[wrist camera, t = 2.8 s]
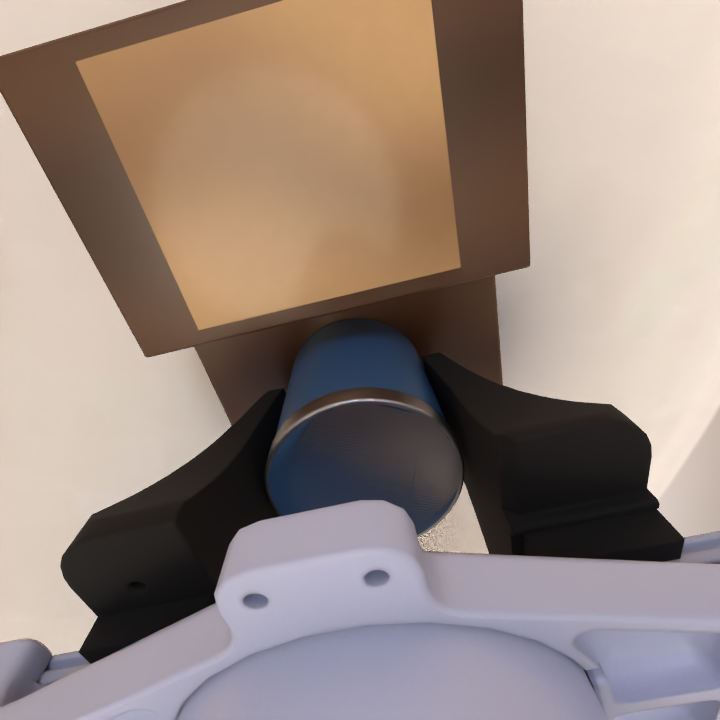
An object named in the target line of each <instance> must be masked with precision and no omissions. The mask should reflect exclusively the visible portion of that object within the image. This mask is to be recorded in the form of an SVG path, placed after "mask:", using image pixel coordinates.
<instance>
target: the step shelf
mask: <svg viewBox="0 0 720 720" xmlns="http://www.w3.org/2000/svg"><path fill="white" fill-rule="evenodd" d="M0 92H1V94H2V95H3V97H4V99H5V101H6V103H7V105H8V106H9V108H10V110H11V112H12V114H13V116H14V117H15V119H16V121H17V123H18V125H19V127H20V128H21V130H22V132H23V134H24V136H25V137H26V139H27V141H28V143H29V145H30V147H31V148H32V150H33V152H34V154H35V156H36V158H37V159H38V161H39V163H40V165H41V167H42V169H43V170H44V172H45V174H46V176H47V178H48V179H49V181H50V183H51V185H52V187H53V189H54V190H55V192H56V194H57V196H58V198H59V200H60V201H61V203H62V205H63V207H64V209H65V211H66V212H67V214H68V216H69V218H70V220H71V222H72V223H73V225H74V227H75V229H76V231H77V232H78V234H79V236H80V238H81V240H82V242H83V243H84V245H85V247H86V249H87V251H88V253H89V254H90V256H91V258H92V260H93V262H94V264H95V265H96V267H97V269H98V271H99V273H100V274H101V276H102V278H103V280H104V282H105V284H106V285H107V287H108V289H109V291H110V293H111V295H112V296H113V298H114V300H115V302H116V304H117V306H118V307H119V309H120V311H121V313H122V315H123V316H124V318H125V320H126V322H127V324H128V326H129V327H130V329H131V331H132V333H133V335H134V337H135V338H136V340H137V342H138V344H139V346H140V348H141V349H142V351H143V353H144V355H145V356H146V357H152V356H156V355H160V354H165V353H169V352H173V351H177V350H181V349H186V348H190V347H195V349H196V351H197V353H198V355H199V357H200V359H201V362H202V364H203V366H204V368H205V370H206V372H207V374H208V376H209V378H210V381H211V383H212V385H213V387H214V389H215V391H216V393H217V395H218V397H219V399H220V402H221V404H222V406H223V408H224V410H225V412H226V414H227V416H228V418H229V420H230V423H231V425H232V426H233V425H234V424H235V423H236V422H237V421H238V420H239V419H240V418H241V417H242V416H243V415H244V414H245V413H246V412H247V411H248V410H249V409H250V408H251V407H252V406H253V405H254V404H255V402H256V401H257V400H258V399H259V398H261V397H262V396H263V395H264V394H265V393H266V392H267V391H271V390H275V389H279V388H284V389H285V392H287V388H288V385H289V381H290V377H291V373H292V369H293V365H294V362H295V359H296V356H297V354H298V352H299V350H300V349H301V347H302V346H303V345H304V343H305V342H306V341H307V340H308V339H309V338H310V337H311V336H312V335H313V334H315V333H316V332H317V331H319V330H320V329H322V328H324V327H326V326H328V325H330V324H332V323H335V322H339V321H342V320H348V319H370V320H375V321H379V322H382V323H385V324H387V325H389V326H391V327H393V328H395V329H396V330H398V331H399V332H401V333H402V334H403V335H404V336H405V337H407V338H408V340H409V341H410V342H411V343H412V344H413V346H414V348H415V349H416V351H417V353H418V355H419V358H420V360H421V362H422V365H423V367H424V363H423V357H422V356H425V355H429V354H434V353H438V352H440V353H442V354H443V355H445V356H446V357H448V358H450V359H451V360H453V361H454V362H456V363H458V364H459V365H461V366H463V367H464V368H466V369H468V370H470V371H472V372H474V373H476V374H477V375H480V376H482V377H484V378H486V379H488V380H490V381H493V382H495V383H498V384H500V385H503V383H502V369H501V355H500V341H499V327H498V313H497V299H496V285H495V275H497V274H501V273H505V272H510V271H514V270H518V269H522V268H527V267H529V266H530V241H529V206H528V171H527V137H526V102H525V67H524V33H523V0H186V1H182V2H179V3H176V4H172V5H169V6H166V7H162V8H159V9H156V10H152V11H149V12H146V13H142V14H139V15H136V16H132V17H129V18H126V19H122V20H119V21H116V22H112V23H109V24H106V25H102V26H99V27H96V28H92V29H89V30H86V31H82V32H79V33H76V34H72V35H69V36H66V37H62V38H59V39H56V40H52V41H49V42H46V43H42V44H39V45H36V46H32V47H29V48H26V49H22V50H19V51H16V52H12V53H9V54H6V55H2V56H0Z"/></svg>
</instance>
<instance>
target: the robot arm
mask: <svg viewBox="0 0 720 720" xmlns="http://www.w3.org/2000/svg"><path fill="white" fill-rule="evenodd" d="M422 357H423V363H424V369H425V372H426V374H427V377H428V379H429V381H430V384H431V386H432V388H433V391H434V393H435V395H436V398H437V400H438V403H439V405H440V407H441V410H442V412H443V414H444V417H445V419H446V421H447V423H448V425H449V426H450V428H451V429H452V431H453V433H454V435H455V438H456V440H457V442H458V445H459V447H460V449H461V452H462V456H463V460H464V483H465V485H466V488H467V490H468V493H469V496H470V499H471V502H472V505H473V507H474V510H475V513H476V516H477V519H478V522H479V525H480V528H481V531H482V533H483V536H484V539H485V542H486V545H487V548H488V551H489V554H475V553H452V552H430V551H424V550H423V549H422V548H421V546H420V544H419V541H418V538H417V534H416V530H415V525H414V523H413V521H412V520H411V518H410V517H409V516H408V514H407V513H406V511H405V510H404V509H403V508H401V507H398V506H396V505H394V504H391V503H389V502H387V501H384V500H359V501H354V502H349V503H344V504H339V505H334V506H329V507H324V508H320V509H315V510H310V511H305V512H300V513H295V514H290V515H285V516H280V517H279V516H278V515H277V513H276V512H275V510H274V508H273V507H272V505H271V503H270V500H269V498H268V495H267V491H266V486H265V468H266V462H267V458H268V455H269V451H270V448H271V445H272V442H273V440H274V438H275V435H276V431H277V428H278V424H279V420H280V416H281V412H282V408H283V404H284V400H285V396H286V392H285V389H284V388H279V389H275V390H271V391H267V392H266V393H265V394H264V395H263V396H262V397H261V398H259V399H258V400H257V401H256V402H255V404H254V405H253V406H252V407H251V408H250V409H249V410H248V411H247V412H246V413H245V414H244V415H243V416H242V417H241V418H240V419H239V420H238V421H237V422H236V423H235V424H234V425H233V426H231V427H230V428H229V429H228V430H227V431H226V432H225V433H224V434H223V435H222V436H221V437H220V438H219V439H217V440H216V441H215V442H214V443H213V444H211V445H210V446H209V447H208V448H207V449H205V450H204V451H203V452H201V453H200V454H199V455H198V456H196V457H195V458H193V459H192V460H191V461H189V462H188V463H186V464H185V465H183V466H182V467H180V468H179V469H177V470H176V471H174V472H173V473H171V474H170V475H168V476H166V477H165V478H163V479H161V480H160V481H158V482H156V483H155V484H153V485H151V486H149V487H148V488H146V489H144V490H142V491H140V492H138V493H136V494H135V495H133V496H131V497H129V498H127V499H125V500H122V501H120V502H118V503H116V504H114V505H112V506H110V507H108V508H106V509H103V510H101V511H99V512H97V513H95V514H92V515H91V517H90V518H89V520H88V521H87V522H86V524H85V525H84V526H83V528H82V529H81V531H80V532H79V533H78V535H77V536H76V538H75V539H74V540H73V542H72V543H71V545H70V546H69V547H68V549H67V550H66V552H65V553H64V554H63V556H62V560H61V570H62V573H63V577H64V579H65V580H66V582H67V583H68V585H69V586H70V587H71V588H72V590H73V591H74V592H75V593H76V594H77V595H78V596H79V597H80V598H81V599H82V600H83V601H84V602H85V603H86V604H87V606H88V607H89V608H90V609H91V610H92V611H93V612H94V613H95V614H96V615H97V616H98V618H97V620H96V621H95V623H94V625H93V627H92V629H91V631H90V632H89V634H88V636H87V638H86V640H85V641H84V643H83V645H82V647H81V649H80V650H79V651H75V652H70V653H64V654H59V655H54V656H52V653H51V652H50V650H49V649H48V648H47V647H46V646H45V645H44V644H42V643H41V642H39V641H37V640H33V639H19V640H13V641H8V642H3V643H0V720H720V531H716V532H711V533H706V534H701V535H695V536H690V537H684V538H683V537H682V536H681V535H680V534H679V532H678V531H677V530H676V529H675V528H674V527H673V526H672V525H671V524H670V523H669V522H668V521H667V520H666V519H665V517H664V516H662V514H661V513H660V512H659V511H658V510H657V508H659V502H658V499H657V498H656V497H655V496H654V495H653V494H652V493H651V492H650V491H649V490H648V489H647V483H648V477H649V470H650V463H651V457H652V455H651V443H650V441H649V439H648V437H647V434H646V433H644V432H643V431H642V430H641V429H640V428H639V427H638V426H637V425H636V424H635V423H633V422H632V421H631V420H630V419H629V418H628V417H627V416H626V415H624V414H623V413H622V412H620V411H619V410H618V409H617V408H615V407H614V406H612V405H611V404H598V403H584V402H573V401H566V400H559V399H553V398H547V397H542V396H538V395H534V394H530V393H525V392H522V391H518V390H515V389H512V388H509V387H506V386H503V385H500V384H498V383H495V382H493V381H490V380H488V379H486V378H484V377H482V376H480V375H477V374H476V373H474V372H472V371H470V370H468V369H466V368H464V367H463V366H461V365H459V364H458V363H456V362H454V361H453V360H451V359H450V358H448V357H446V356H445V355H443V354H442V353H440V352H438V353H434V354H429V355H425V356H422Z"/></svg>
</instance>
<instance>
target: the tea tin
mask: <svg viewBox="0 0 720 720" xmlns="http://www.w3.org/2000/svg"><path fill="white" fill-rule="evenodd" d="M463 480H464V460H463V456H462V452H461V449H460V447H459V445H458V442H457V440H456V438H455V435H454V433H453V431H452V429H451V428H450V426H449V425H448V423H447V421H446V419H445V417H444V414H443V412H442V410H441V407H440V405H439V403H438V400H437V398H436V395H435V393H434V391H433V388H432V386H431V384H430V381H429V379H428V377H427V374H426V372H425V369H424V367H423V365H422V362H421V360H420V358H419V355H418V353H417V351H416V349H415V348H414V346H413V344H412V343H411V342H410V341H409V340H408V338H407V337H405V336H404V335H403V334H402V333H401V332H399V331H398V330H396V329H395V328H393V327H391V326H389V325H387V324H385V323H382V322H379V321H375V320H370V319H348V320H342V321H339V322H335V323H332V324H330V325H328V326H326V327H324V328H322V329H320V330H319V331H317V332H316V333H315V334H313V335H312V336H311V337H310V338H309V339H308V340H307V341H306V342H305V343H304V345H303V346H302V347H301V349H300V350H299V352H298V354H297V356H296V359H295V362H294V365H293V369H292V373H291V377H290V381H289V385H288V388H287V392H286V396H285V400H284V404H283V408H282V412H281V416H280V420H279V424H278V428H277V431H276V435H275V438H274V440H273V442H272V445H271V448H270V451H269V455H268V458H267V462H266V468H265V486H266V491H267V495H268V498H269V500H270V503H271V505H272V507H273V508H274V510H275V512H276V513H277V515H278V516H279V517H280V516H285V515H290V514H295V513H300V512H305V511H310V510H315V509H320V508H324V507H329V506H334V505H339V504H344V503H349V502H354V501H359V500H384V501H387V502H389V503H391V504H394V505H396V506H398V507H401V508H403V509H404V510H405V511H406V513H407V514H408V516H409V517H410V518H411V520H412V521H413V523H414V525H415V530H416V534H417V537H419V536H421V535H422V534H424V533H426V532H427V531H429V530H430V529H432V528H433V527H434V526H436V525H437V524H438V523H439V522H440V521H441V520H442V519H443V518H444V517H445V516H446V515H447V514H448V513H449V512H450V510H451V509H452V507H453V506H454V504H455V503H456V501H457V499H458V497H459V495H460V492H461V489H462V485H463Z"/></svg>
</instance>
